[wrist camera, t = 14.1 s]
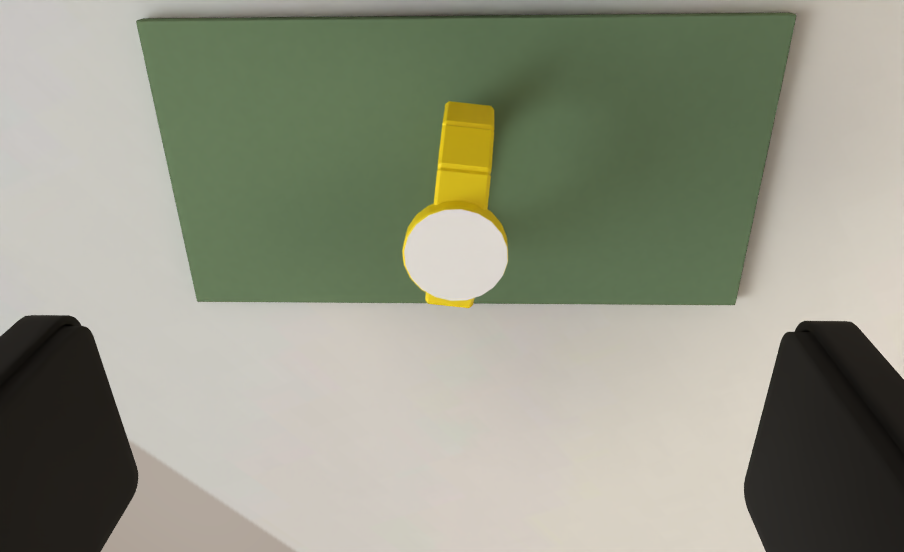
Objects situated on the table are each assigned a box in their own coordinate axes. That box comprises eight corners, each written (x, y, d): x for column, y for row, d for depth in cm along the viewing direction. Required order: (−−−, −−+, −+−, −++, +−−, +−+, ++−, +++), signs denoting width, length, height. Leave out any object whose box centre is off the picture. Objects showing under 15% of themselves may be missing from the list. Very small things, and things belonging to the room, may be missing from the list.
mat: (790, 12, 20) (797, 14, 20) (731, 298, 25) (735, 305, 25) (142, 18, 21) (134, 20, 21) (201, 295, 26) (196, 302, 25)
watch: (427, 79, 21) (410, 132, 16) (514, 89, 21) (526, 144, 16) (413, 250, 24) (395, 342, 19) (490, 258, 24) (494, 352, 19)
